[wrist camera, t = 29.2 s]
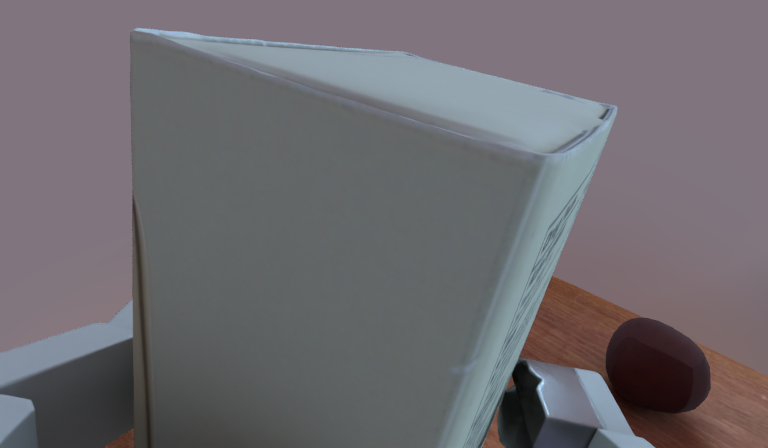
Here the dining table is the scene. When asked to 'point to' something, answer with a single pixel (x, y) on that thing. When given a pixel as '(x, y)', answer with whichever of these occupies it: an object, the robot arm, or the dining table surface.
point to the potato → (657, 367)
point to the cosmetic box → (338, 240)
